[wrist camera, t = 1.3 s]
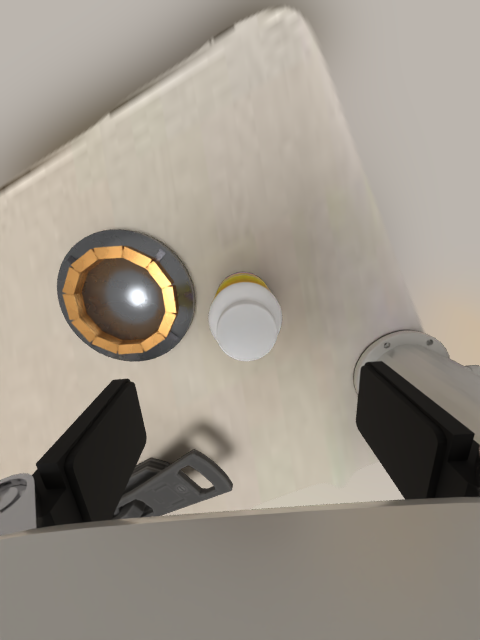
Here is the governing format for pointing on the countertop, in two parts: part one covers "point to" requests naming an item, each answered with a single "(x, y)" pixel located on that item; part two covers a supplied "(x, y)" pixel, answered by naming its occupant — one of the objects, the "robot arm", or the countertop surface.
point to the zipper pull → (169, 486)
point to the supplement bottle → (245, 317)
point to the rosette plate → (126, 295)
